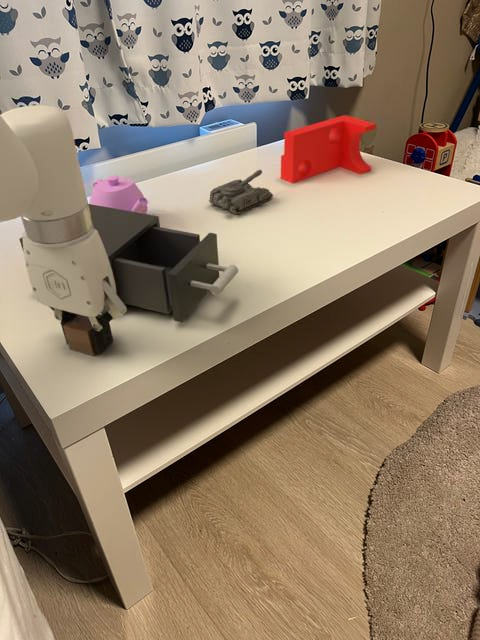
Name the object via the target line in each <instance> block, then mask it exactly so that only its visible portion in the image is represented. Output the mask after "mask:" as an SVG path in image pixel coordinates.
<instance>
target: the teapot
mask: <svg viewBox="0 0 480 640" xmlns="http://www.w3.org/2000/svg"><path fill="white" fill-rule="evenodd" d="M92 187H93V188H92V191H91V194H90V197H89V200H88V204H92V205H97V206H103V207H109V208H114V209H120V210H126V211H132V212H137V213H143V214H148V210H149V209H148V204H149V201H148V199H147V198H146V197H145V196H144V194H143V192H142V190H141V189H140V188H139V187H138V185H137V184H136V183H135V182H134V181H133V180H132V179H129V178H126V177H122V176H118V175H109V176H107V177H106V179H101V178H98V179H95V180H94V181H93V183H92Z"/></svg>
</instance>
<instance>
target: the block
mask: <svg viewBox="0 0 480 640" xmlns="http://www.w3.org/2000/svg"><path fill="white" fill-rule="evenodd" d="M101 316H102V314H101V313H99V315H98V317H99V318H100V317H101ZM63 328H64V331H65V335H66V338H67V341H68V344H67V345H68V348H69V350H71V351H74V352H78V353H81V354H85V355H88V356H92V357H94V356H96V355H97V353H96V351H95V348H94V344H93V340H92V336H91V332H90V331H91V329H92V328H93V327H92V324H91V322H90V320H89V317H88V316H83V315H79V314H76V315H75V316H74V317H73V318H71V319H70V320H69V321H68V322H67V323H66V324H65V325H63Z"/></svg>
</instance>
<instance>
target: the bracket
mask: <svg viewBox="0 0 480 640" xmlns="http://www.w3.org/2000/svg"><path fill="white" fill-rule="evenodd" d="M376 129H377V123H374V122H371V121H367V120H364V119H361V118H356V117H353V116H350V115H347V114H343V115H340V116H337V117H334V118H330V119H326V120H323V121H319V122H317V123H312V124H309V125H306V126H301V127H299V128H296V129H295V128H294V129H292V130H288V131H285V132H284V140H283V141H284V143H283V145H284V146H283V154H282V155H280V179H281V180H284V181H285V182H288V183H290V184H295V183H298V182H301V181H304V180H307V179H309V178H312V177H315V176H318V175H320V174H324V173H326V172H329V171H331V170H335V169H338V168H342V169H345V170H348V171H351V172H354V173H356V174H359V175H363V174H365V173H368V172H370V171H372V165H370V164H368V163H367V162H366V161H365V159H364V158H363V156H362V154H361V150H360V142H361V139H362V136H363V135H364V133H367V132H371V131H374V130H376Z"/></svg>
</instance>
